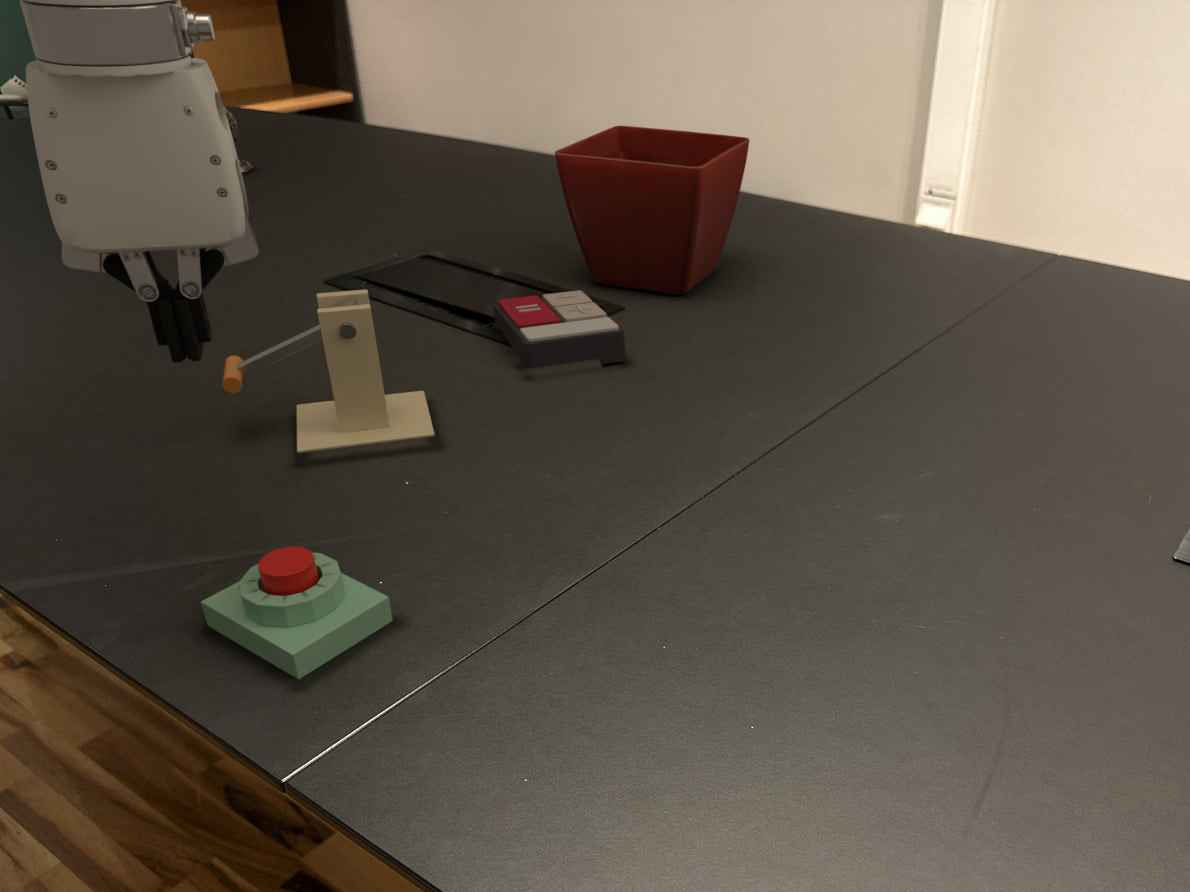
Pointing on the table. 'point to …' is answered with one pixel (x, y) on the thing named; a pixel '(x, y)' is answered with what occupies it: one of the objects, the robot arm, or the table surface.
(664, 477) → the table surface
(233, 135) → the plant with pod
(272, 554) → the button
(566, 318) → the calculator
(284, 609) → the control block
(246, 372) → the lever
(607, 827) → the table surface
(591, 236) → the flower pot
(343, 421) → the bracket
